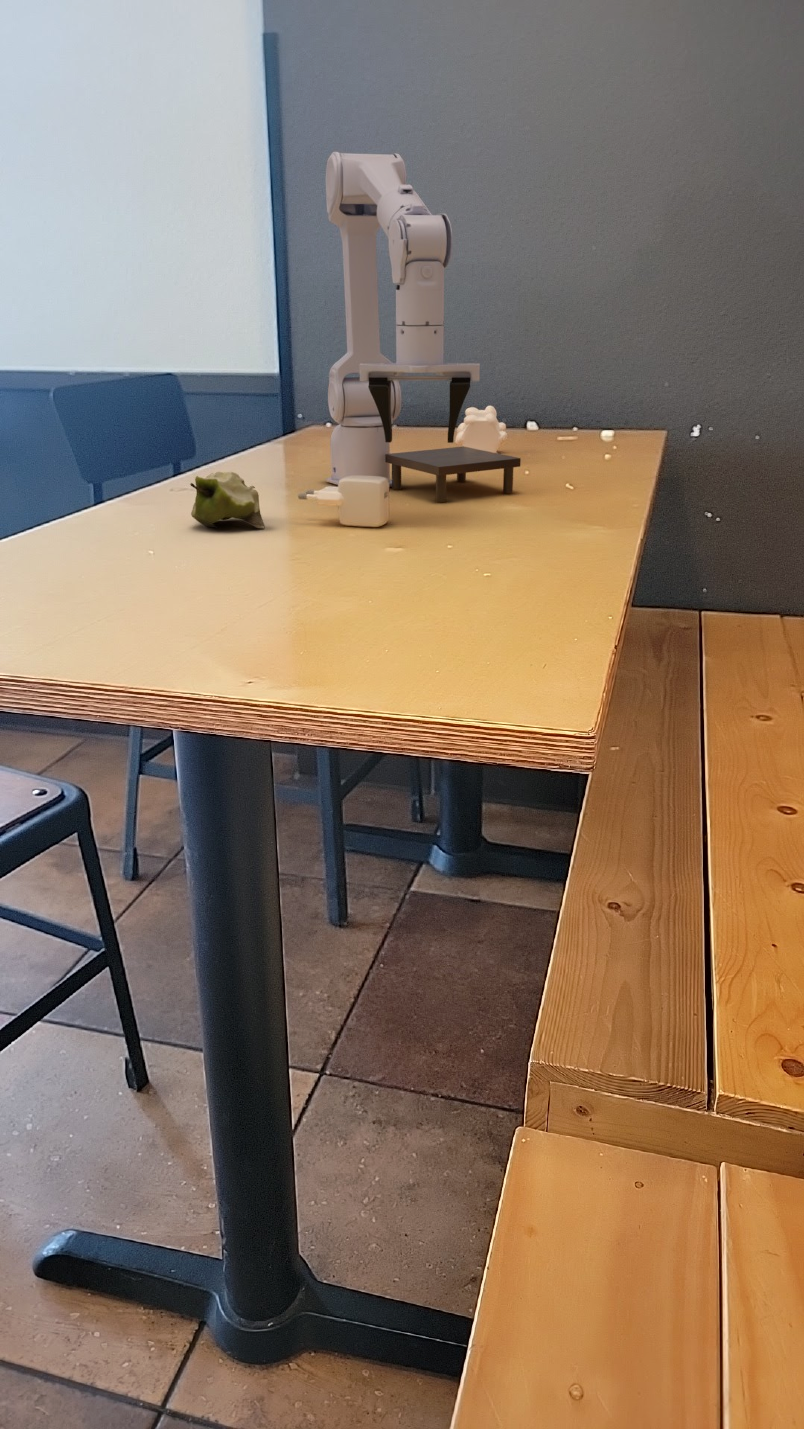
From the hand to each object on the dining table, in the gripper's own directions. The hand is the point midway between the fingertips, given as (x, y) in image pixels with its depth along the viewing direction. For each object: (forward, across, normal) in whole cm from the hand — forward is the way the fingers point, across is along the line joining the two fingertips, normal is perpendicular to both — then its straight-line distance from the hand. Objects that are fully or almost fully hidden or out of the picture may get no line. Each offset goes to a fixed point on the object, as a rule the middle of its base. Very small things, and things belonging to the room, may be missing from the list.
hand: (419, 441), depth 132 cm
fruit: (+10, -24, -4) cm, 26 cm away
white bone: (+10, +8, +52) cm, 54 cm away
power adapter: (+10, -9, -2) cm, 14 cm away
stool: (+10, +4, +20) cm, 23 cm away
